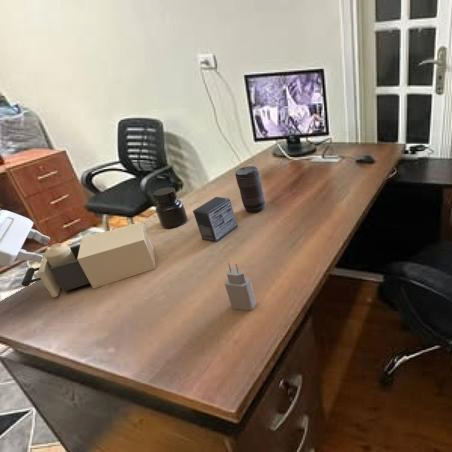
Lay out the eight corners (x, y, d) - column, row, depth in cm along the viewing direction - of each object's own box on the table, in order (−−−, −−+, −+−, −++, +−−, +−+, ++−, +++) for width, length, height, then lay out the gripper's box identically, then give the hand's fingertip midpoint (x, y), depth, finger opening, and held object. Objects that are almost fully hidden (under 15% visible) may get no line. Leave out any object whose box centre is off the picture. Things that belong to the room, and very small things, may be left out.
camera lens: (239, 210, 127) (229, 171, 120) (256, 202, 132) (248, 164, 125) (253, 216, 122) (244, 175, 115) (270, 207, 127) (263, 168, 120)
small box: (223, 223, 119) (215, 195, 114) (238, 226, 116) (231, 198, 111) (200, 239, 111) (191, 210, 106) (216, 242, 108) (207, 212, 103)
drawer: (29, 304, 88) (13, 280, 84) (38, 281, 97) (23, 258, 93) (115, 277, 95) (103, 253, 91) (116, 257, 104) (105, 235, 100)
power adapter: (251, 311, 80) (239, 268, 74) (230, 308, 81) (217, 266, 75) (257, 302, 82) (246, 260, 76) (237, 299, 84) (225, 258, 78)
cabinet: (93, 288, 93) (77, 259, 88) (96, 265, 103) (81, 238, 98) (156, 268, 99) (144, 239, 94) (152, 248, 109) (141, 221, 104)
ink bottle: (187, 213, 128) (177, 183, 123) (190, 223, 121) (180, 191, 116) (159, 221, 125) (148, 190, 119) (160, 231, 118) (148, 199, 112)
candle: (79, 280, 93) (62, 248, 88) (56, 285, 92) (37, 254, 87) (86, 268, 98) (69, 238, 93) (64, 273, 97) (46, 243, 92)
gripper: (-35, 235, 72) (44, 259, 81) (-6, 201, 88) (57, 223, 97) (-50, 260, 73) (30, 281, 81) (-18, 221, 89) (46, 242, 97)
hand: (45, 249), depth 89 cm, fingers open, 8 cm apart
